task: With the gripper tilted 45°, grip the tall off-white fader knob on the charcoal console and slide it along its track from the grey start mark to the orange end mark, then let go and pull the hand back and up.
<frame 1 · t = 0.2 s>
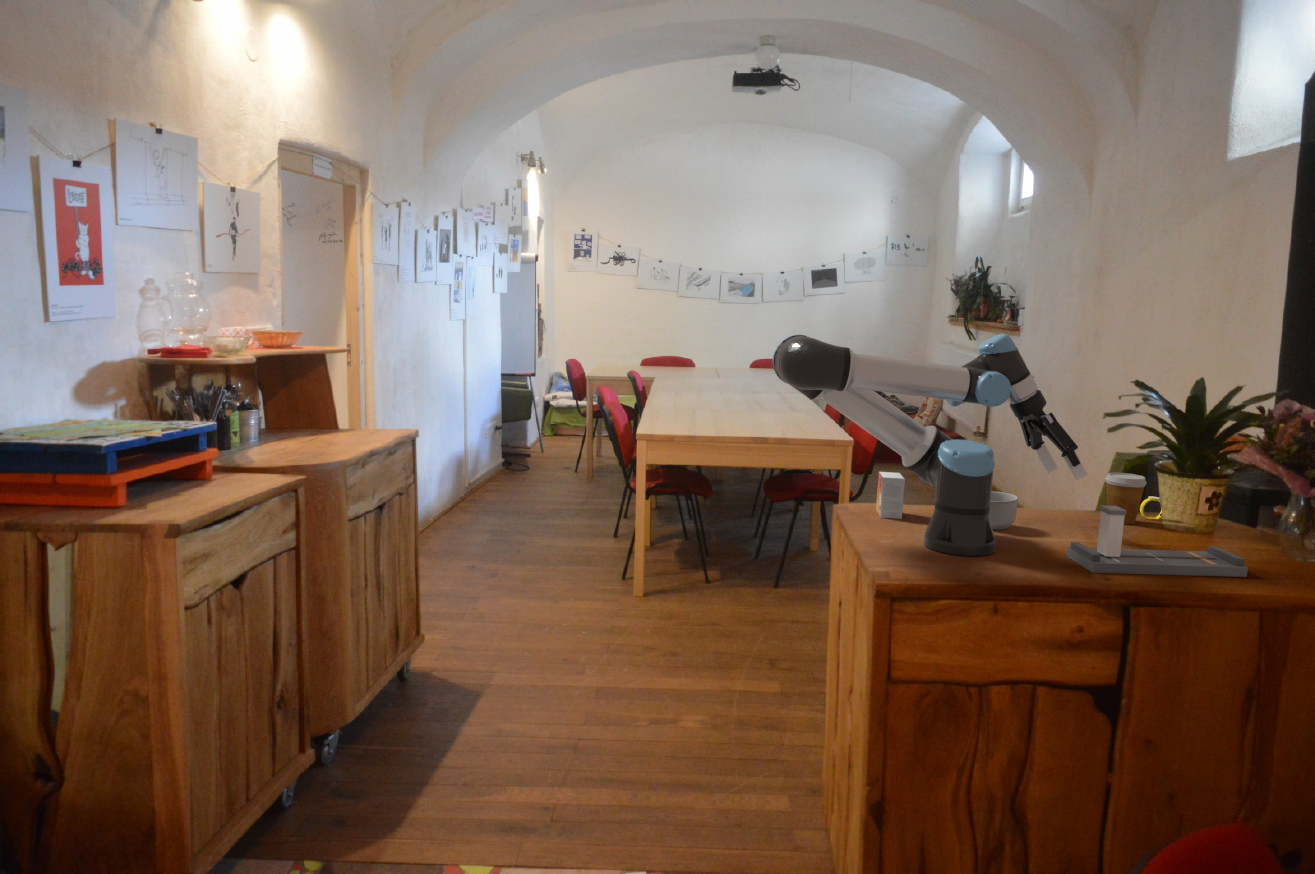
hand: (1066, 474, 214), 15 cm above the table, tool tilted 35°, fingers open, 13 cm apart
disposable coffee cup: (1121, 522, 235), on the table
teacup: (989, 526, 226), on the table
fader knob: (1110, 531, 193), point 7 cm above the table, slide at -10.0 cm
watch: (1151, 519, 239), on the table
small box: (888, 515, 234), on the table
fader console: (1153, 566, 194), on the table
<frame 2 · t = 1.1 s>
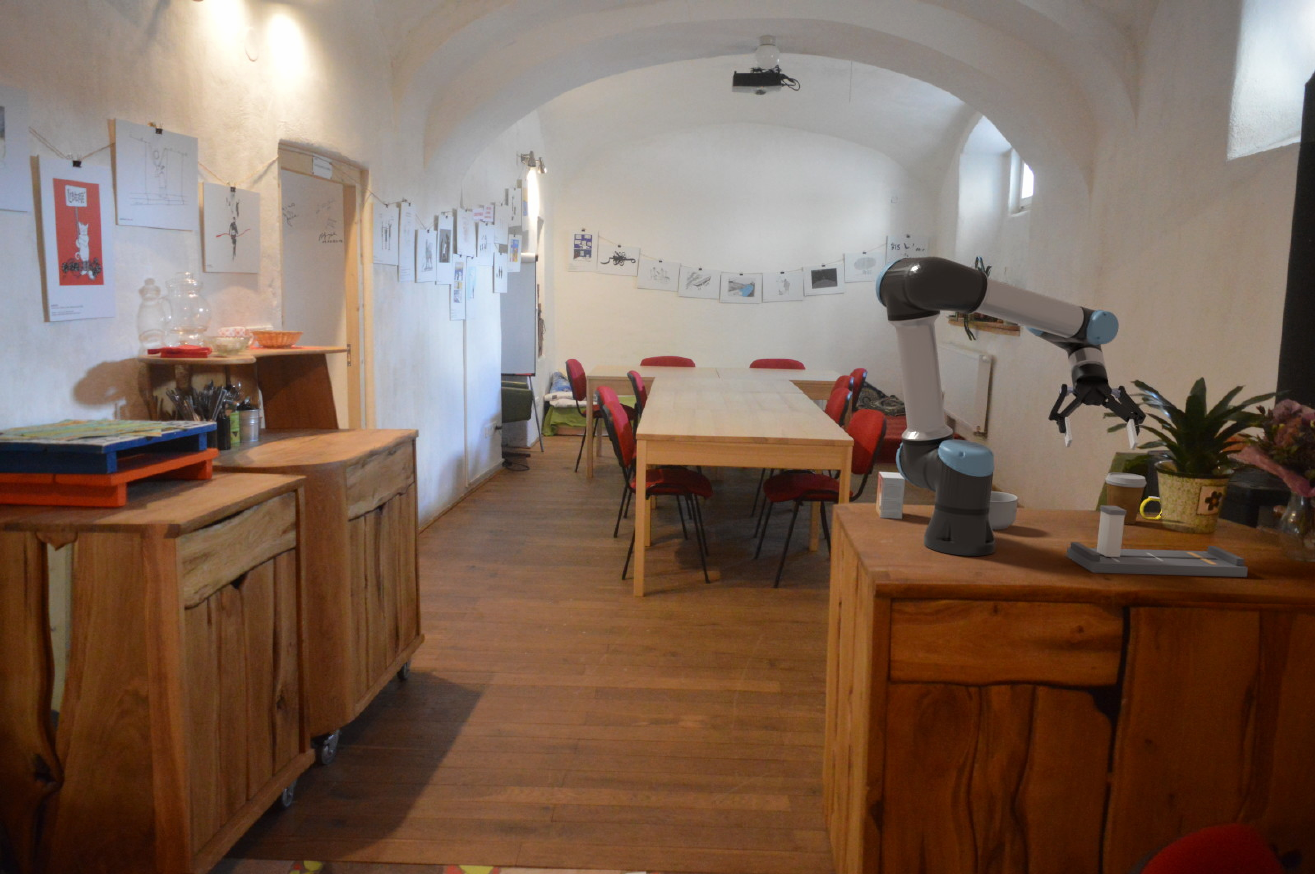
hand: (1101, 445, 203), 24 cm above the table, tool tilted 45°, fingers open, 13 cm apart
nothing on the table moved.
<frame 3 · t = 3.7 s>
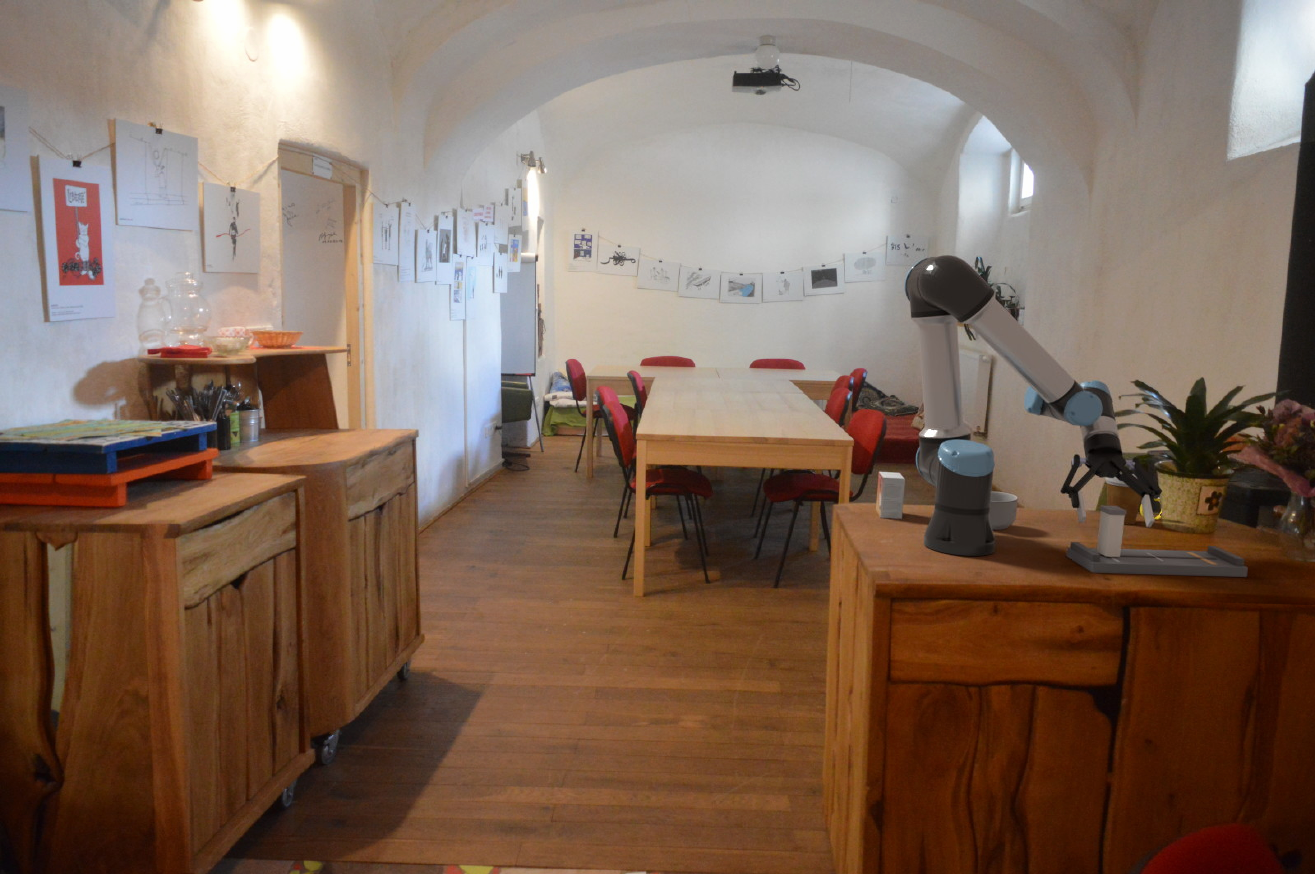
hand: (1116, 522, 195), 9 cm above the table, tool tilted 45°, fingers open, 13 cm apart
nothing on the table moved.
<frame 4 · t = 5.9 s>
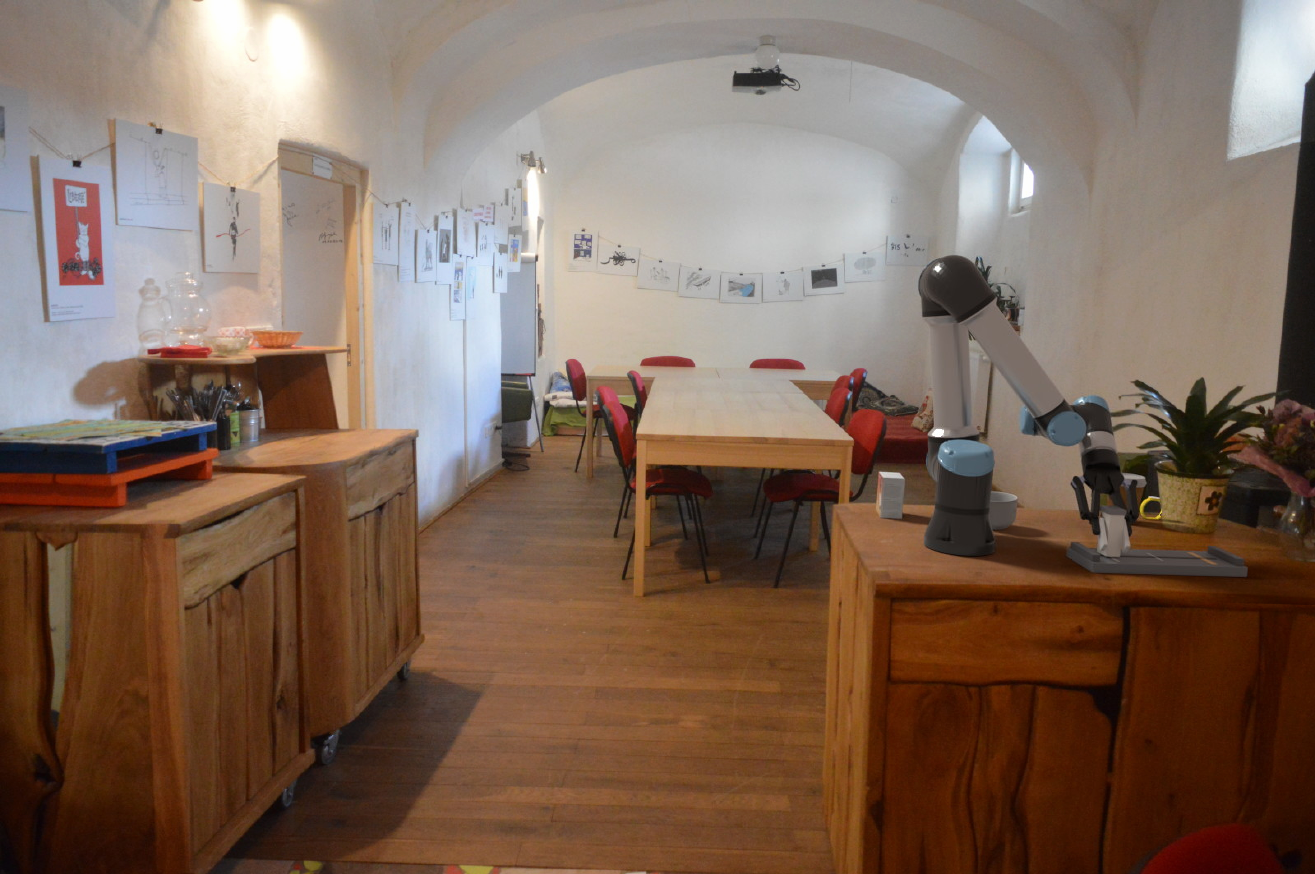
hand: (1115, 548, 189), 5 cm above the table, tool tilted 45°, fingers closed on fader knob, 4 cm apart
fader knob: (1110, 531, 193), point 7 cm above the table, slide at -10.0 cm, touching gripper
everything else where it was.
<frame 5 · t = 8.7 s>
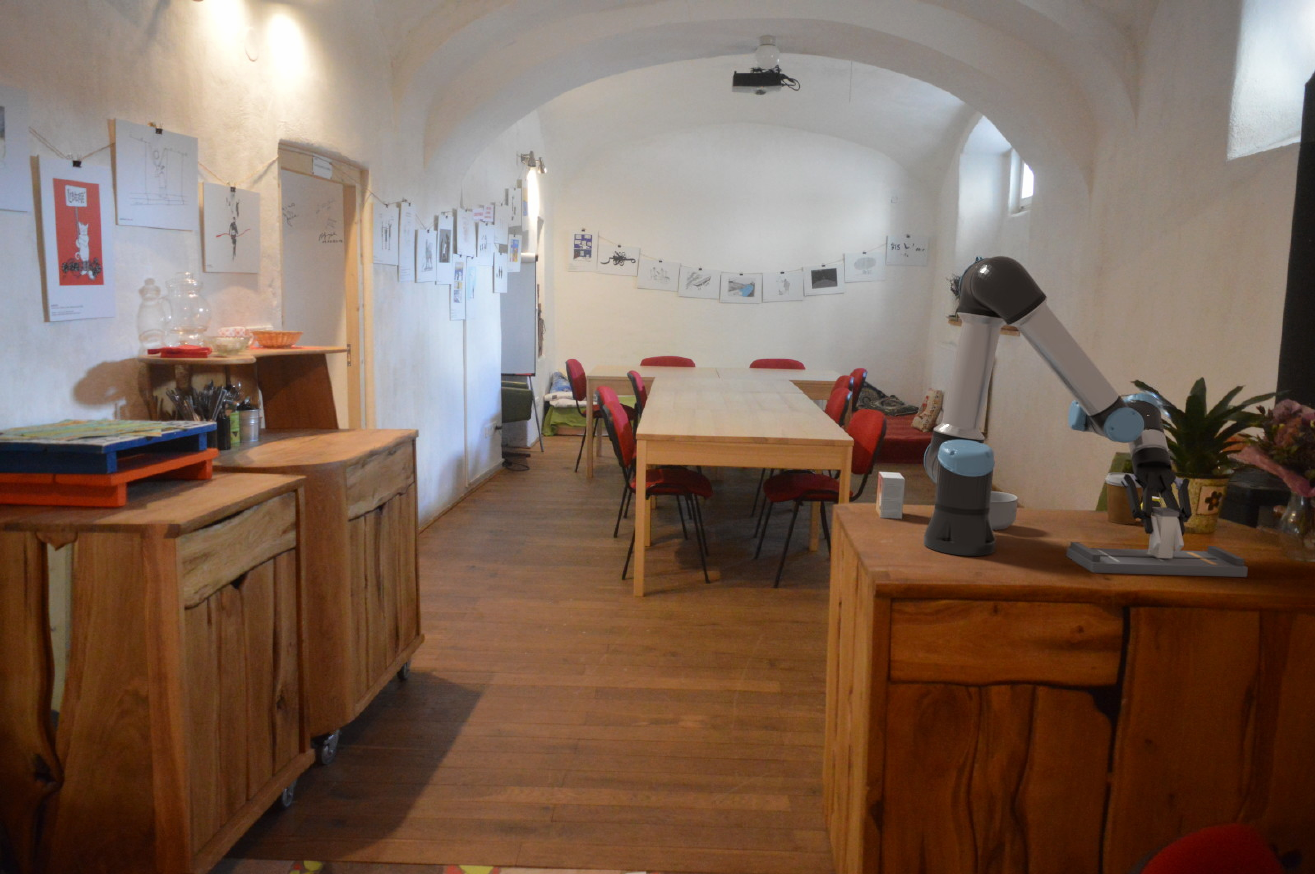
hand: (1168, 547, 189), 5 cm above the table, tool tilted 45°, fingers closed on fader knob, 4 cm apart
fader knob: (1162, 532, 193), point 7 cm above the table, slide at 1.1 cm, touching gripper
everything else where it was.
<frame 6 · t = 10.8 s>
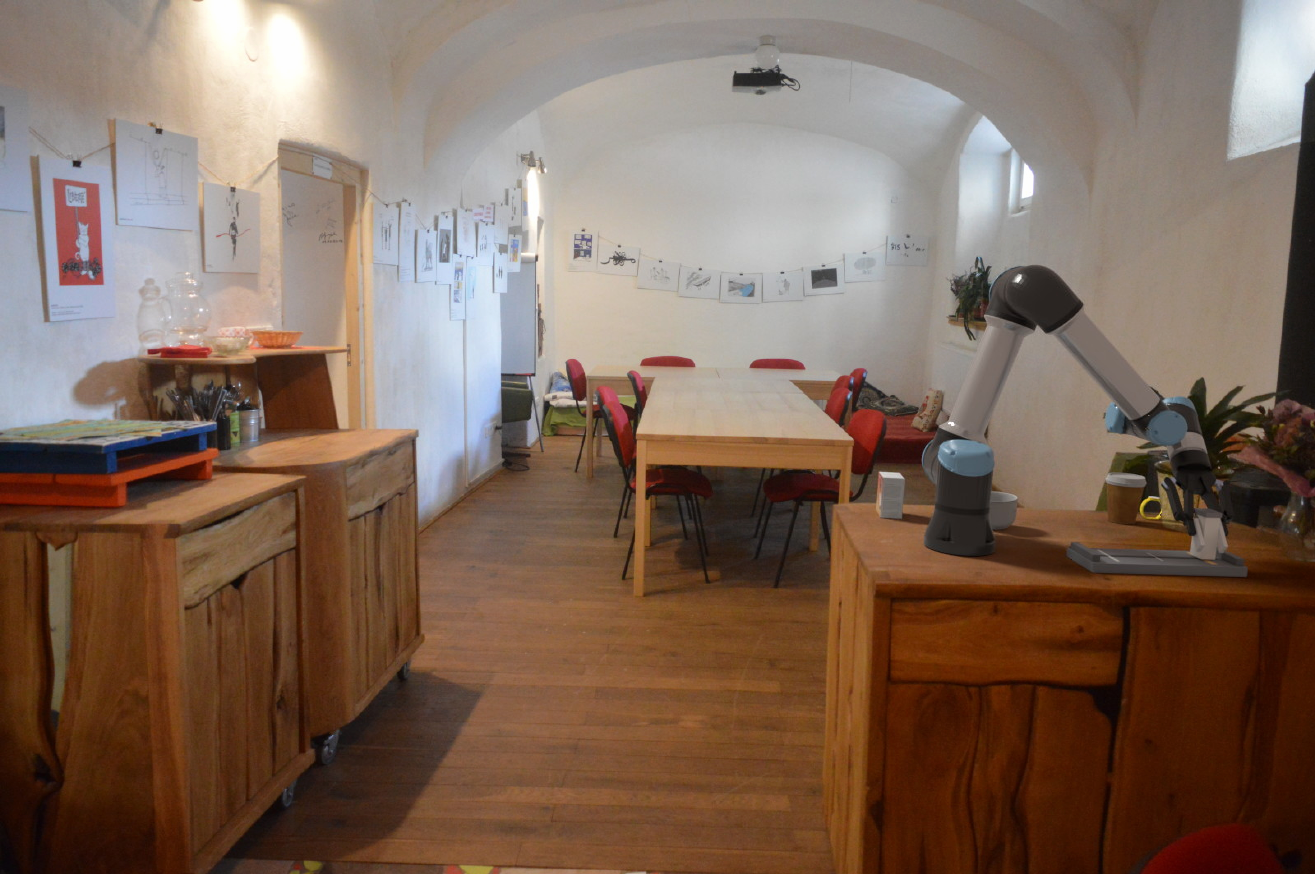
hand: (1212, 548, 189), 5 cm above the table, tool tilted 45°, fingers closed on fader knob, 4 cm apart
fader knob: (1205, 533, 193), point 7 cm above the table, slide at 10.1 cm, touching gripper
everything else where it was.
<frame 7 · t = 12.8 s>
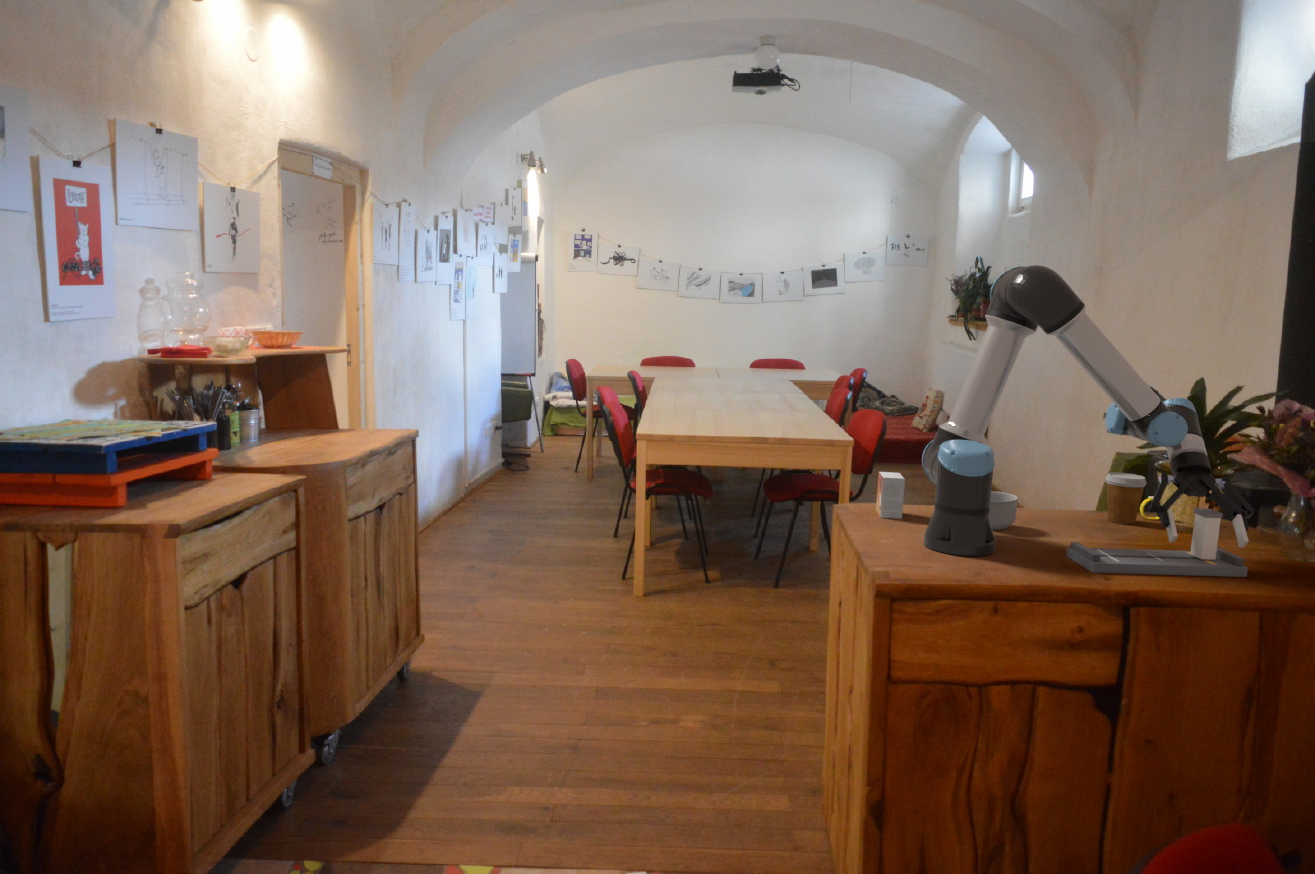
hand: (1208, 542, 191), 6 cm above the table, tool tilted 45°, fingers open, 13 cm apart
fader knob: (1205, 533, 193), point 7 cm above the table, slide at 10.2 cm
everything else where it was.
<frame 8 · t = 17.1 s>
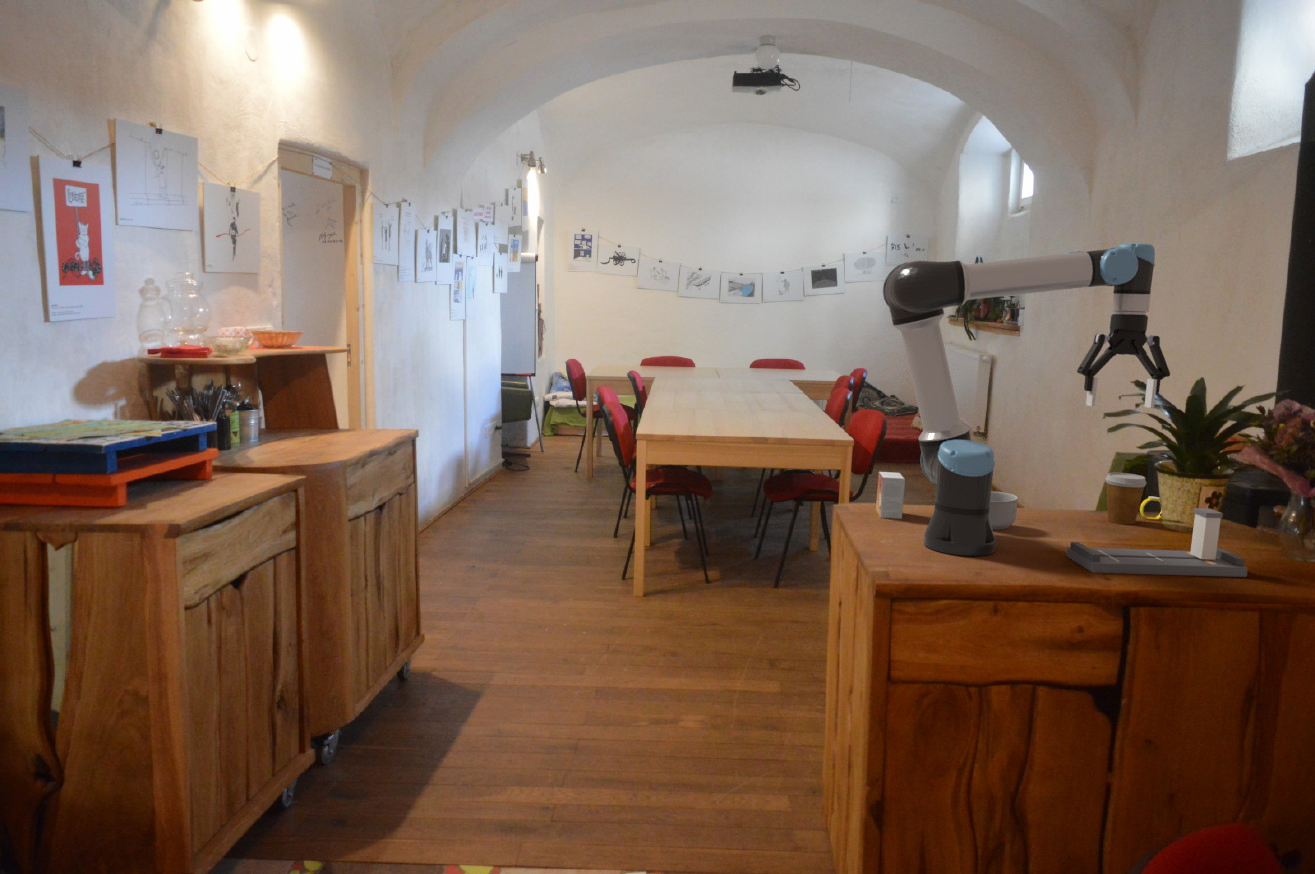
hand: (1119, 406, 210), 32 cm above the table, tool pointing down, fingers open, 13 cm apart
nothing on the table moved.
at the end: fader knob slide at 10.2 cm; the gripper is holding nothing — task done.
